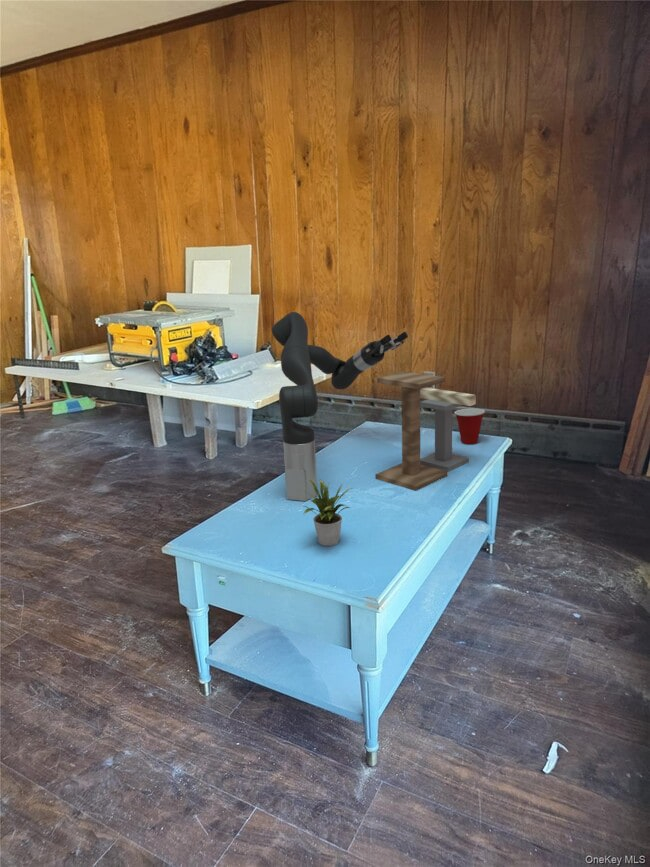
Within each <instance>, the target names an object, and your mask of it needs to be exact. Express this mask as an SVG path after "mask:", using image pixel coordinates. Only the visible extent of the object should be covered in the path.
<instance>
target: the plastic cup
mask: <svg viewBox="0 0 650 867" xmlns="http://www.w3.org/2000/svg"><path fill="white" fill-rule="evenodd" d="M485 411H486V410H485V409H482V408H481V409H480V408H463V409H458V410H456V411H454V416H455V417H456V420H457V425H458V432H459V437H460V442H461V444H464V445H476V444H478V441H479V436H480V434H481V426H482V422H483V417H484V414H485V413H486V412H485Z"/></svg>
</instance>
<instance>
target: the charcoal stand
mask: <svg viewBox="0 0 650 867" xmlns="http://www.w3.org/2000/svg"><path fill="white" fill-rule="evenodd" d="M461 406H462V405H460V404H454V403H448V402H442V401H436V400H430V399H425V400H420V408H428V409H432V410H434V452H433V453H431V454H428V455H425V456H424V457H422V458H421V457H420V464H421V465H425V466H429V467H433V468H436V469H440V470H444V471H449V472H451V471H453V470H454V469H458V468H459V467H461V466H464V465H466V464H469V463H470V457H467V456H464V455H458V454H454V453H453V410H454V409H456V408H459V407H461ZM450 470H451V471H450Z"/></svg>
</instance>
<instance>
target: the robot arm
mask: <svg viewBox="0 0 650 867" xmlns="http://www.w3.org/2000/svg"><path fill="white" fill-rule="evenodd" d="M308 328H309V327H308V324H307V321H306V320H305V319H304V317H303V316H302V315H301V314H300V313H299V312H296V311H291V312H289V313H287V314H285V315H284V316H283V317H282V318H281V319H280V320H279V319H278V321H276V322H275V323H274V324H273V326H272V327H271V332H272V335H273V337H274V339H275V340H276V341H277V342H278V343H279V344H280V345H281V346H282V347H283V348H282V350H281V353H280V365H281V370H282V373H283V375H284V376H285V377H286V378H287V379H288V380H289V381H291V382H292V383H293V384H294V385H287V386H286V385H285V386H282V387H281V388H280V390H279V394H278V397H279V398H278V401H279V410H280V418H281V428H282V444H283V458H284V459H283V460H284V461H283V462H284V476H285V478H284V479H285V490H286V499H287V500H291V501H292V500H293V501H301V502H305V501H308V500H312V499H311V497H312V498H314V499H315V498H317V497H318V495H317V494H316V492H315V490H314V487H313V485H312V484H311V482H310V481H309V480H308V479H310V480H311V481H313V482H314V483H315V485H316V487H317V488H318V477H317V476H318V474H317V457H316V441H315V438H316V437H315V431H314V429H313V428H311V427H309V426H307V425H304V424H300V423H298V422H296V421H294V419H298V418H299V419H301V418H309V417H314V416H315V415H316V414H317V412H318V410H319V400H318V399H319V398H318V395H317V394H318V393H317V390H316V386H315V382H314V378H313V372H312V371H313V370H312V365H314V367H316V368H317V369H318V370H319V371H321V372H322V373H323V374H325V375H331V379H330V380H331V381H330V382H331V386H333V388H334V389H336V390H345V389H348V388H349V387H350V386H351V385H352V384H353V383H354V382H355V381H356V380H357V379H358V377H359V375H361V374H362V373H364V372H365V371H367V370H370V369H371V368H372V367H374V366H375V365H377V364H379V363H380V362H381V361H383V360H384V358H385V354H386V353H387V352H390V351H393V350H395V349H396V348H398V347H400V346H401V345H402V344H404V343H405V342H404V341H405V340H406V339H408V338H409V335H408V332H407V331H403V332H402V333H400V334H399V335H397V336H395V337H394V338H393V337H391V335H390V334H386V335H385V336H384V337H382V338H380V339H378V340H374V341H371V342H368V343H367V344H366V345H365V346H362V347H361V348H360V349H358V351H357V352H355V353H354V354H353V355H352V356H350V357H348V358H347V360H346V361H345V360H342V359H340V358H338V357H335V356H334V355H333V354H331V353H330V352H329V351H328V350H327V349H326V348H324V347H322V346H318V345H314V344H313V345H312V344H308V343H309V329H308ZM306 478H307V479H306ZM298 489H299V490H298ZM304 490H305V491H304ZM308 492H309V493H308ZM308 494H309V495H308Z"/></svg>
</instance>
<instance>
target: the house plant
mask: <svg viewBox="0 0 650 867" xmlns="http://www.w3.org/2000/svg"><path fill="white" fill-rule="evenodd" d="M306 479H307V478H306ZM308 480H309V481H310V482H311V484H312V485H313V487H314V490H315V492H316V494H317V497H314V498H312V497H311V499H310V502H311V503H313V504H315V506H316V507H317V508H318V509H316V508H314V507H311V508H310V507H308V506H306V505H303V508H304V507H305V508H306V509H305V510H304V512H303V515H305V514H307V513H308V512H313V513H314V514H316V515H314V517H313V518H312V519H313V524H314V528H315V532H316V536H317V540H318V544H319V545H322V546H325V547H330V546H332V547H333V546H335V545H337V544H339V542H340V536H341V530H342V520H343V517H342V515H341V514H340V512H342V511H343V510H345V509H351V507H350V506H347V505H346V504H344V503H343V504H341V503H340V504H337V503H338V501H340V499H341V498H342V497H343V496H344V495H345V494H346V493H347V492H349V491H350V490H353V489H354V487H349V488H348V489H346V490H345V491H344V492H343V493H342V494H341V495H339V494H340V491H341V489H342V486H343V483H341V485H340V486H339V488H338V489H337V492H336V494H335V495H334V496H332V497H330V495H329V485H330V483H331V481H329V482H328V485H327V484H326V483H325V481H322V479H319V486H320V487H319V489H320V490H319V489H318V486H317V487H316V485H315V483H314V482H313V481H311V480H310V479H308ZM298 490H299V489H298ZM304 491H305V490H304ZM319 491H320V492H319ZM308 493H309V492H308ZM308 495H309V494H308ZM343 506H345V507H343ZM340 507H343V508H341V509H340V510H339V508H340ZM314 510H316V511H317V512H319V513H316V512H315V511H314ZM338 510H339V511H338ZM337 511H338V513H336V512H337Z"/></svg>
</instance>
